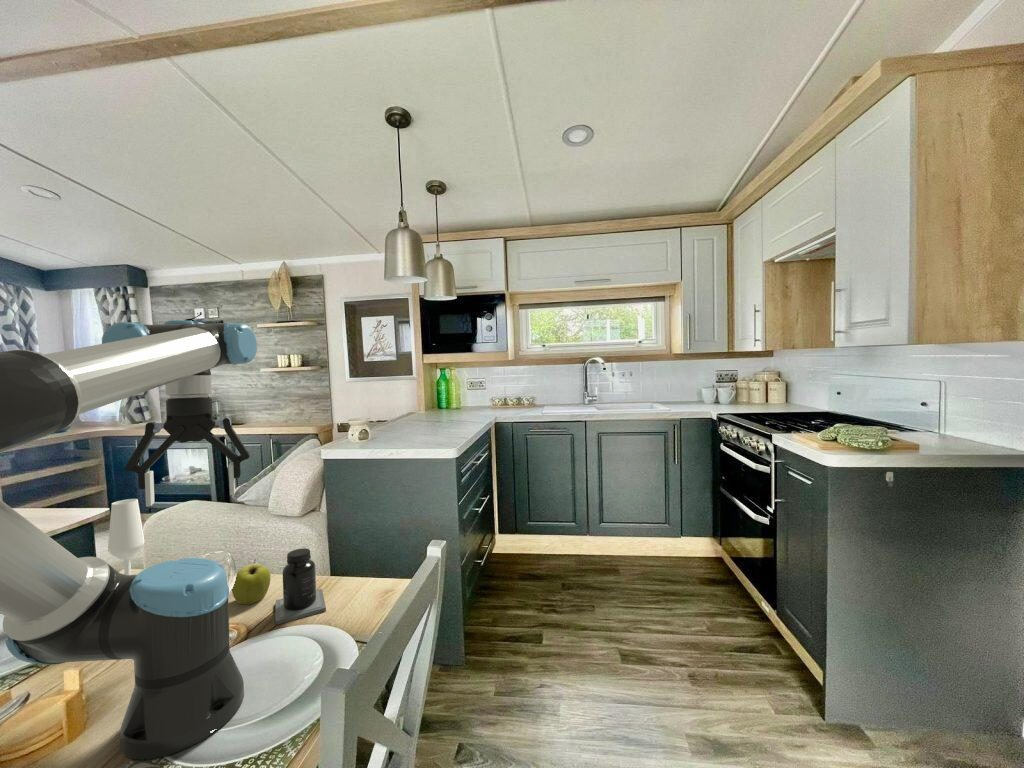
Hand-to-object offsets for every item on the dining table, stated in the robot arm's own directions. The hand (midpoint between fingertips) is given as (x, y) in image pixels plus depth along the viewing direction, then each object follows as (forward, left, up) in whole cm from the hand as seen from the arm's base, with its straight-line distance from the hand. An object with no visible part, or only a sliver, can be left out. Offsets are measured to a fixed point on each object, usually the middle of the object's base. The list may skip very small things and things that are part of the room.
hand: (193, 499), depth 85 cm
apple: (+11, -9, -29) cm, 32 cm away
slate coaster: (+1, -19, -29) cm, 34 cm away
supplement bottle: (+1, -19, -28) cm, 34 cm away
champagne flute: (+30, +18, -29) cm, 45 cm away
